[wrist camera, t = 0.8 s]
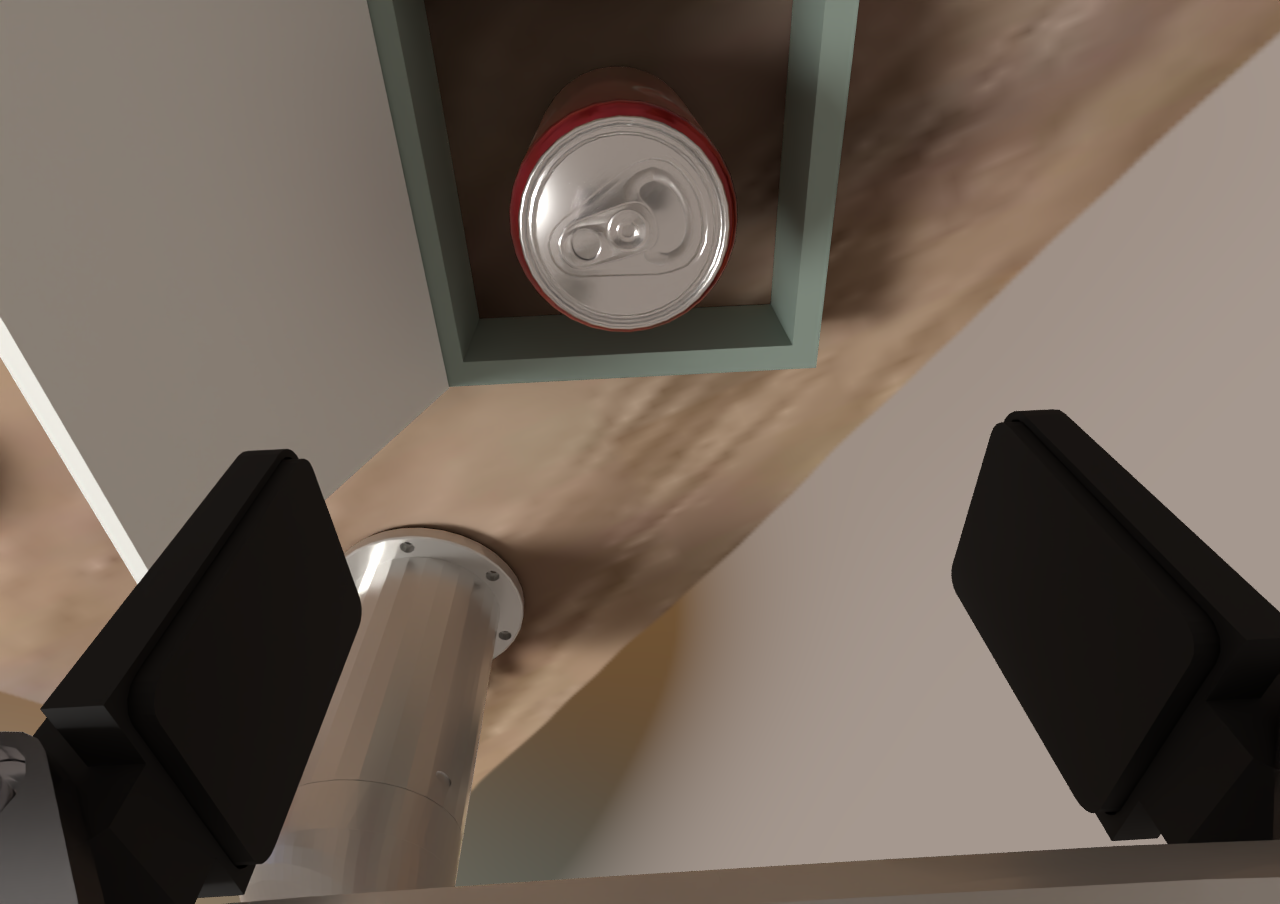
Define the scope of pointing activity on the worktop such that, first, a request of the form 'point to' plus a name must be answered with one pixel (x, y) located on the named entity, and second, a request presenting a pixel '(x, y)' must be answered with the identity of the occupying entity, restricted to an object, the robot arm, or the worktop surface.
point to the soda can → (622, 204)
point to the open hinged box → (301, 243)
